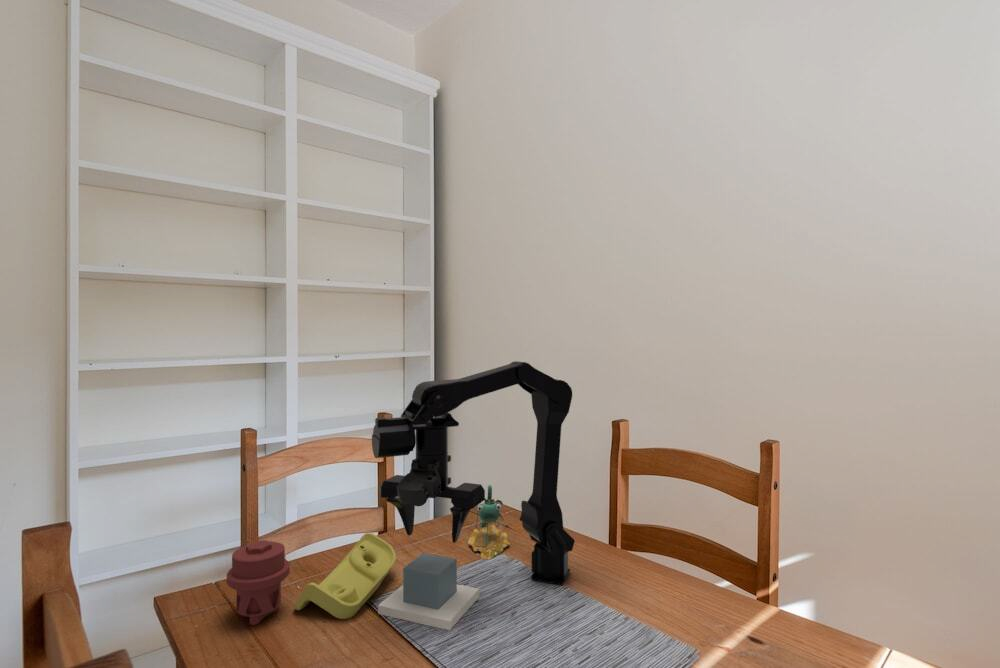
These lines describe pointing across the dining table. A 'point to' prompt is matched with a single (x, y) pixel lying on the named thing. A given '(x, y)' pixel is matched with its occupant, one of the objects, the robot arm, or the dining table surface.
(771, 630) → the dining table surface
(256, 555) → the mechanical component
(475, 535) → the green and yellow piece
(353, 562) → the plastic component
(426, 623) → the base plate
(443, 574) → the slate grey cube
